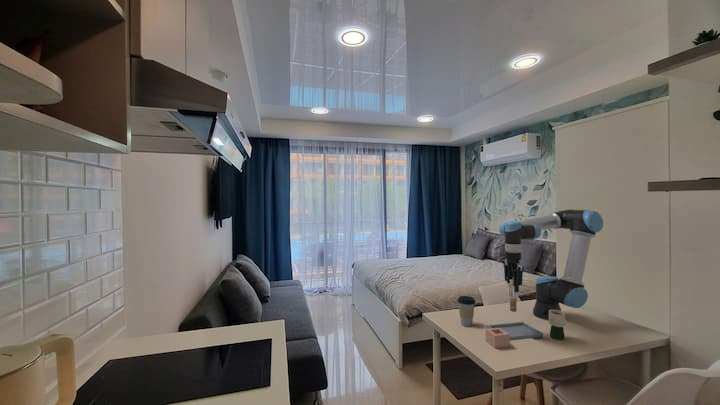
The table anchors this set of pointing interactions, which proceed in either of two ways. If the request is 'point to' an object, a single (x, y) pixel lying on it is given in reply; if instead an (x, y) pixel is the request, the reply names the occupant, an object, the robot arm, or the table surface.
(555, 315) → the character mug
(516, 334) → the tray
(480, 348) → the table surface
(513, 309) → the dowel
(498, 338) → the pink square tube
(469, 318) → the coffee cup
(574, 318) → the table surface
